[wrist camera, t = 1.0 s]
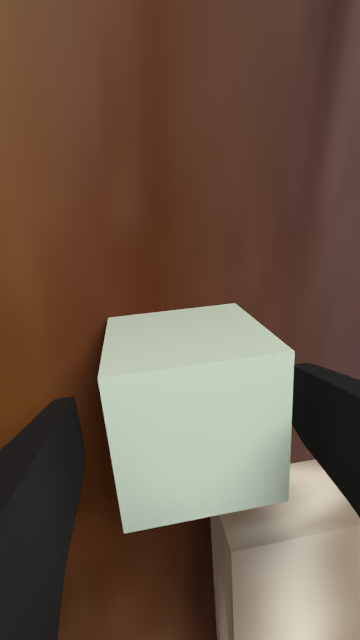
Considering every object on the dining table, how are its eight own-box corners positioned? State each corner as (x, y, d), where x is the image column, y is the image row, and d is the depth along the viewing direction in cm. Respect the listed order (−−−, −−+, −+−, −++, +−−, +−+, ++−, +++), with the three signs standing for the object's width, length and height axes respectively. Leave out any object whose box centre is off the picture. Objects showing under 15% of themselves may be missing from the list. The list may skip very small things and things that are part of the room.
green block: (234, 302, 13) (294, 351, 8) (236, 409, 15) (288, 501, 10) (108, 317, 13) (97, 378, 8) (124, 427, 14) (124, 533, 9)
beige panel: (425, 433, 17) (508, 492, 14) (395, 588, 21) (453, 668, 17) (206, 472, 16) (231, 552, 12) (215, 633, 20) (236, 731, 16)
